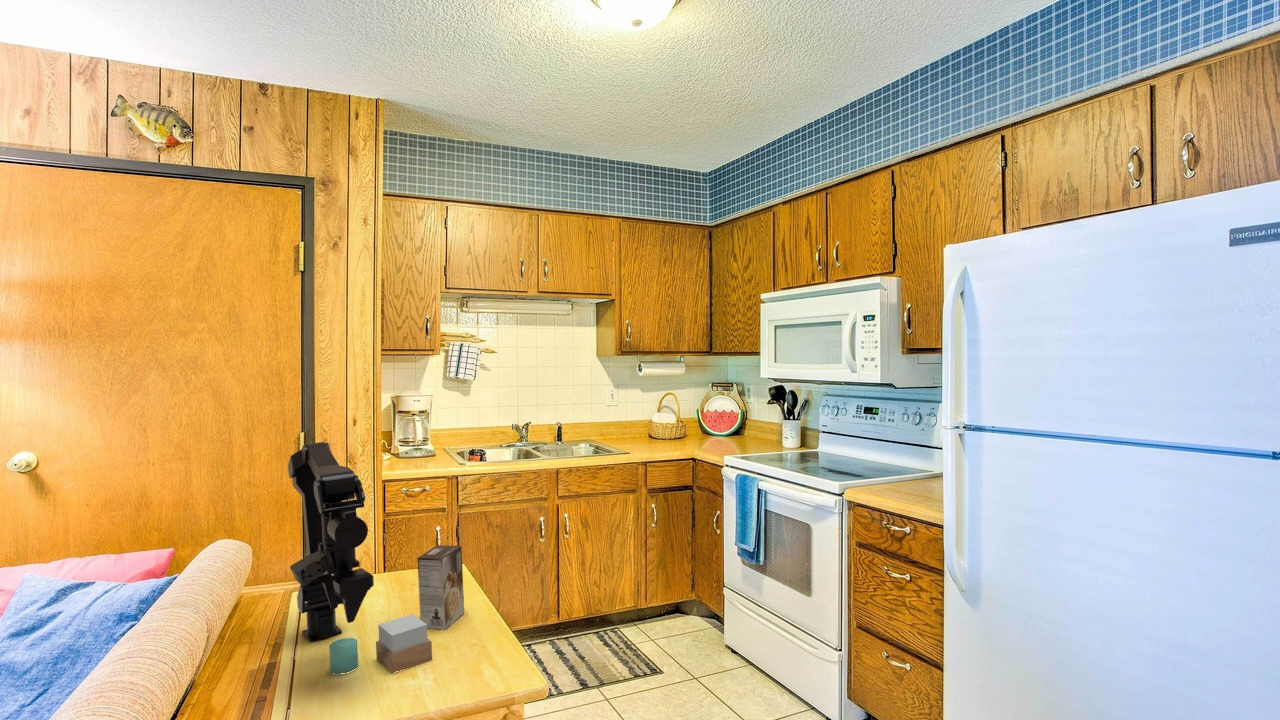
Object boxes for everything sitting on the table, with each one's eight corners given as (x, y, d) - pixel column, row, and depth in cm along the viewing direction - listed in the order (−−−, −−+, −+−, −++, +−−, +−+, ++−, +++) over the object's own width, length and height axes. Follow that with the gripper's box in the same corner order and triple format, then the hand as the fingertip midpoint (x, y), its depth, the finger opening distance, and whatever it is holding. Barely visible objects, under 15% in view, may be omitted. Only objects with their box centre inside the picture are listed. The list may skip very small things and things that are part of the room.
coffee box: (439, 611, 159) (437, 544, 158) (465, 613, 157) (462, 545, 157) (419, 628, 150) (416, 557, 149) (446, 630, 148) (443, 558, 148)
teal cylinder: (326, 668, 132) (325, 643, 132) (352, 659, 136) (351, 635, 136) (335, 678, 129) (334, 652, 128) (362, 668, 132) (361, 643, 132)
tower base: (376, 661, 136) (375, 641, 135) (415, 647, 141) (414, 629, 141) (392, 675, 130) (391, 654, 129) (432, 660, 135) (431, 641, 135)
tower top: (379, 641, 135) (378, 624, 135) (413, 630, 140) (412, 614, 140) (392, 653, 130) (392, 635, 130) (427, 641, 135) (426, 624, 135)
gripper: (279, 535, 133) (283, 613, 133) (309, 557, 119) (313, 644, 120) (338, 523, 140) (341, 597, 141) (373, 542, 126) (376, 624, 127)
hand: (342, 615), depth 132 cm, fingers open, 9 cm apart
